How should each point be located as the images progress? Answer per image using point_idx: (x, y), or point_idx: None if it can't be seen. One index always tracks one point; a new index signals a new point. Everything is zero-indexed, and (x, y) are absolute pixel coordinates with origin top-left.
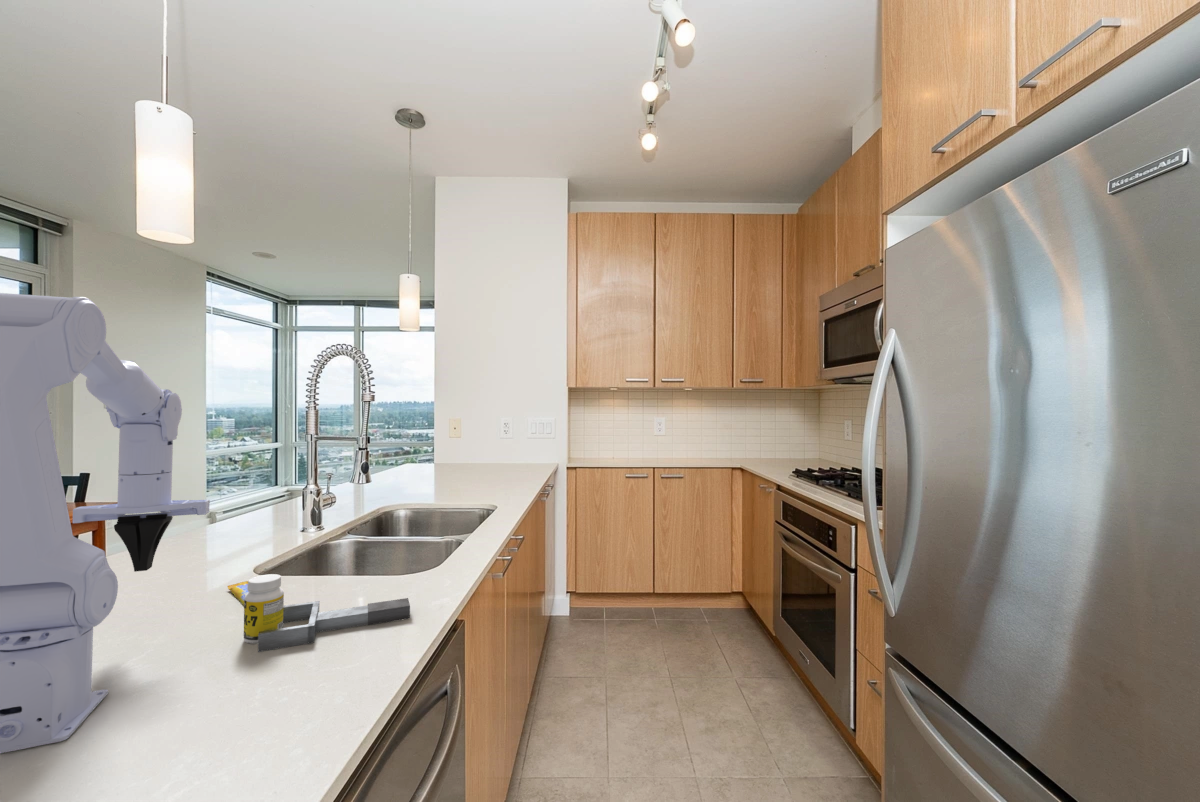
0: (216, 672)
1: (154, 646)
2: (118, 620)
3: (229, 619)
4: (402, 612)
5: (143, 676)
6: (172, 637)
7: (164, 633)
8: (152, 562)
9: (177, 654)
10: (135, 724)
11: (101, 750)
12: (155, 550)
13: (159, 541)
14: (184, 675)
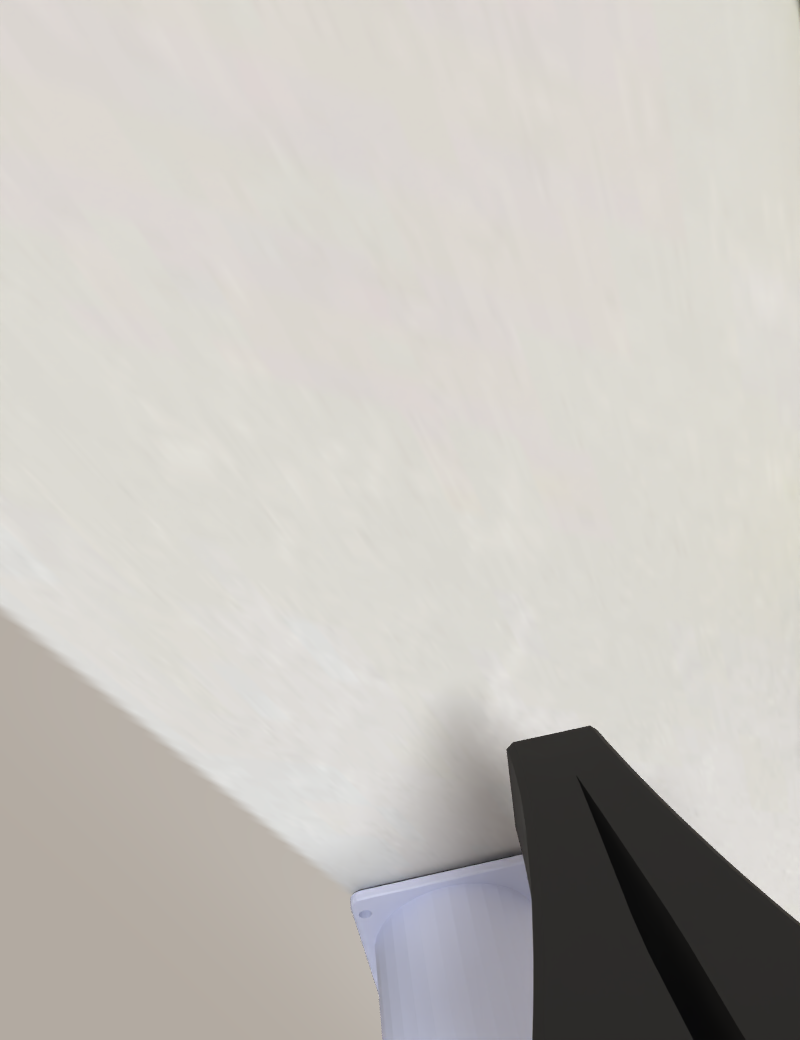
0: (766, 781)
1: (525, 585)
2: (129, 162)
3: (759, 333)
4: None
5: None
6: (561, 509)
7: (508, 454)
8: (613, 750)
9: (631, 663)
10: None
11: None
12: (695, 843)
13: (797, 928)
14: (689, 785)
